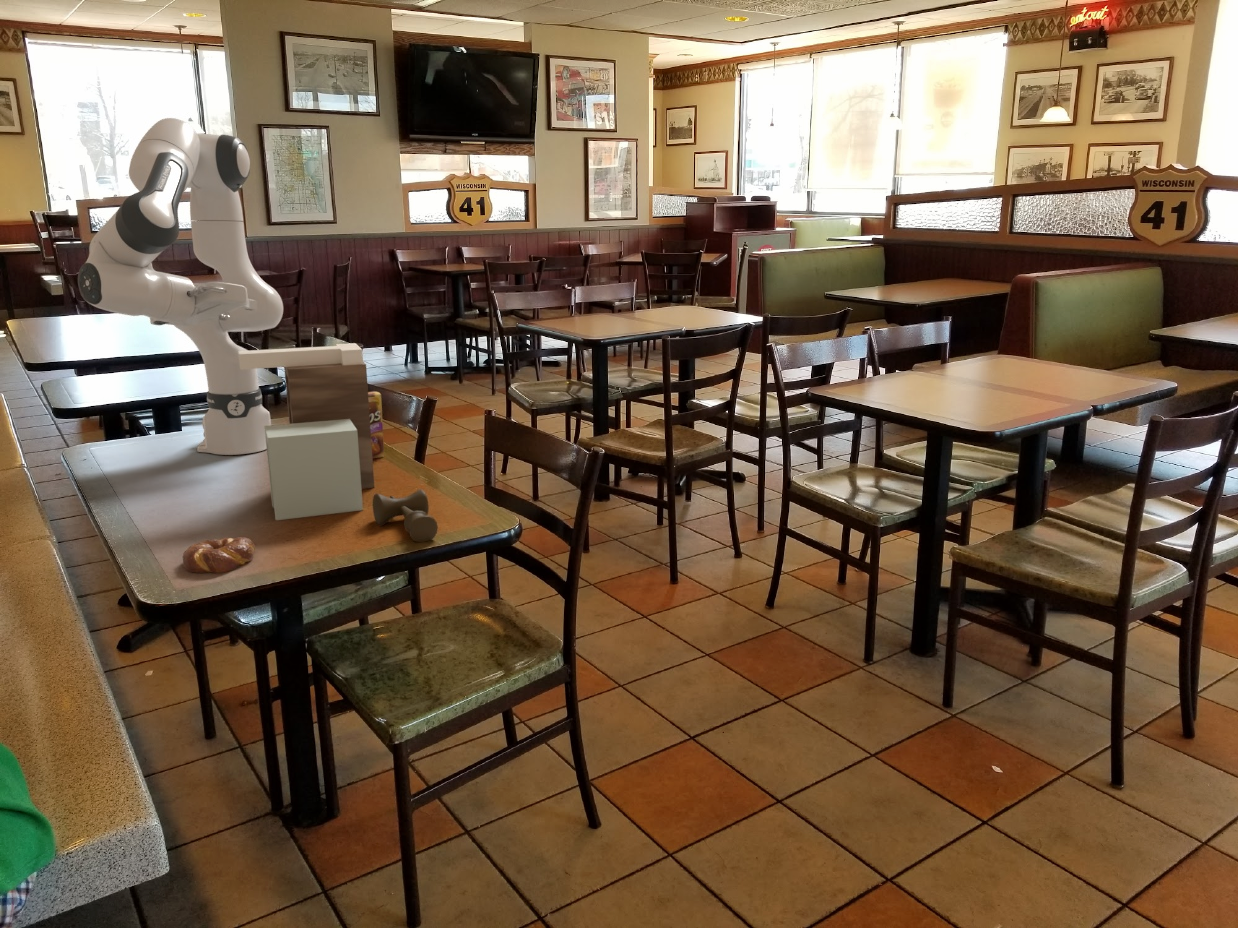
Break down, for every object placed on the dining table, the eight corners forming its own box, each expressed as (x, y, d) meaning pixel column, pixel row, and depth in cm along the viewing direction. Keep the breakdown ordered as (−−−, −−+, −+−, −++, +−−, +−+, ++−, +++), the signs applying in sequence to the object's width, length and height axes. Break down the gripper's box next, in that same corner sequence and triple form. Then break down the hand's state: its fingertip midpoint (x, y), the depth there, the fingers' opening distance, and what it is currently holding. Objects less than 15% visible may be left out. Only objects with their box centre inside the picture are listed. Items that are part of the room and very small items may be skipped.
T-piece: (239, 364, 189) (237, 349, 189) (356, 357, 198) (355, 343, 197) (241, 371, 181) (239, 356, 181) (363, 364, 190) (362, 349, 189)
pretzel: (237, 546, 165) (235, 526, 164) (271, 561, 159) (269, 540, 158) (169, 564, 156) (166, 543, 155) (202, 581, 150) (200, 559, 149)
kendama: (398, 550, 164) (366, 514, 181) (451, 542, 169) (415, 508, 186) (397, 518, 163) (365, 484, 179) (450, 510, 167) (414, 479, 184)
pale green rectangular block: (272, 504, 186) (264, 425, 181) (355, 495, 192) (349, 418, 188) (276, 520, 177) (267, 437, 173) (362, 509, 183) (357, 430, 179)
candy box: (347, 463, 215) (342, 397, 211) (341, 458, 218) (336, 394, 214) (385, 457, 220) (381, 393, 215) (379, 453, 223) (374, 390, 219)
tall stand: (294, 482, 200) (283, 361, 193) (366, 474, 206) (358, 356, 199) (299, 495, 191) (287, 369, 184) (374, 487, 197) (366, 364, 190)
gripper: (205, 269, 171) (271, 283, 183) (145, 294, 183) (211, 306, 194) (206, 302, 171) (273, 315, 182) (146, 326, 182) (212, 336, 194)
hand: (240, 311), depth 188 cm, fingers open, 8 cm apart
